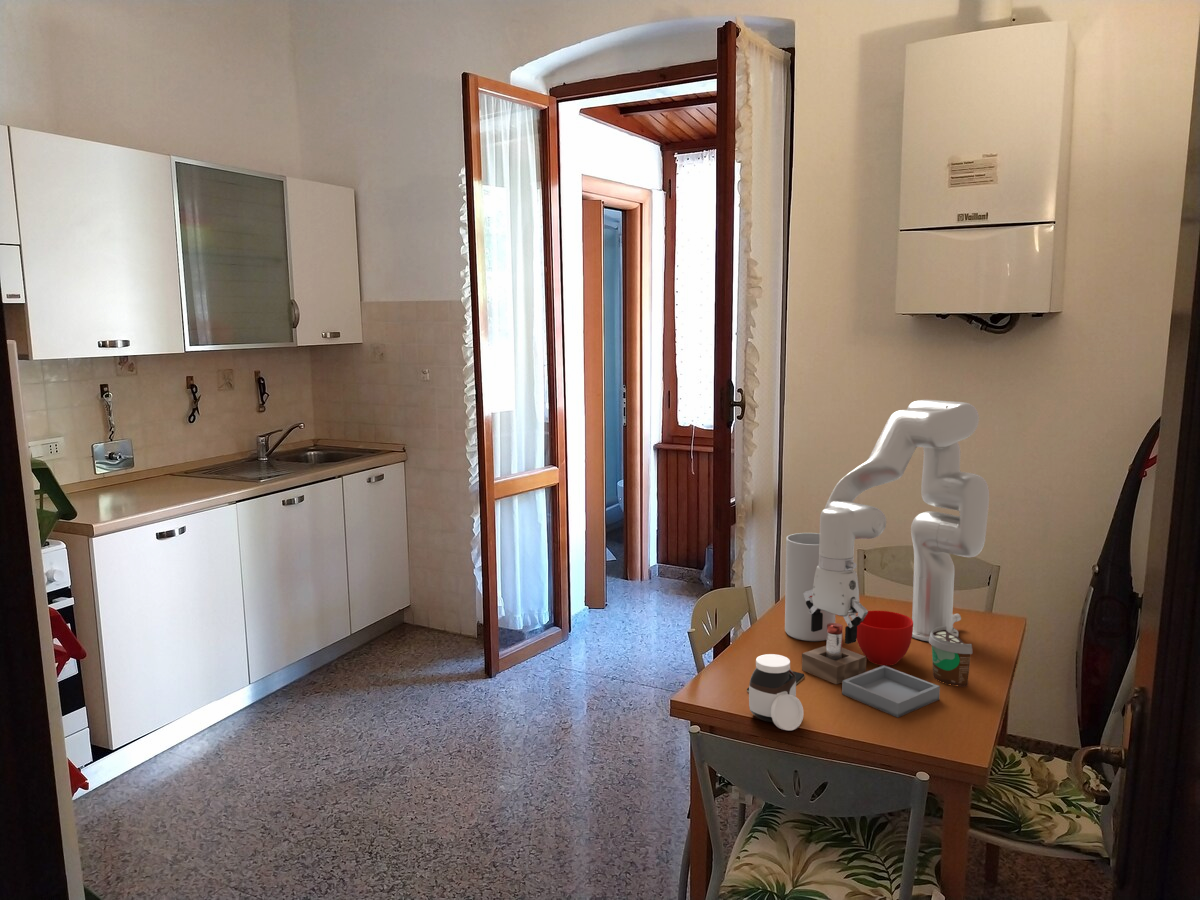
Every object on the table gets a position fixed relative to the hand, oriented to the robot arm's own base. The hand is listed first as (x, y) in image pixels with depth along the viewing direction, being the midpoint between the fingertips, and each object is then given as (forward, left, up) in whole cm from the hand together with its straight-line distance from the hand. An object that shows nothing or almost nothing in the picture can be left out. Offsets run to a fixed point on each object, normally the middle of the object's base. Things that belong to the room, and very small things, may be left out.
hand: (833, 636), depth 194 cm
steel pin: (0, 0, -9) cm, 9 cm away
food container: (-17, +17, -9) cm, 26 cm away
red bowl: (-17, +2, -9) cm, 19 cm away
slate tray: (+1, +16, -9) cm, 18 cm away
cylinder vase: (-15, -20, -9) cm, 26 cm away
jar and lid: (+27, +9, -9) cm, 30 cm away
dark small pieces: (+15, -3, -9) cm, 18 cm away
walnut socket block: (0, 0, -9) cm, 9 cm away
